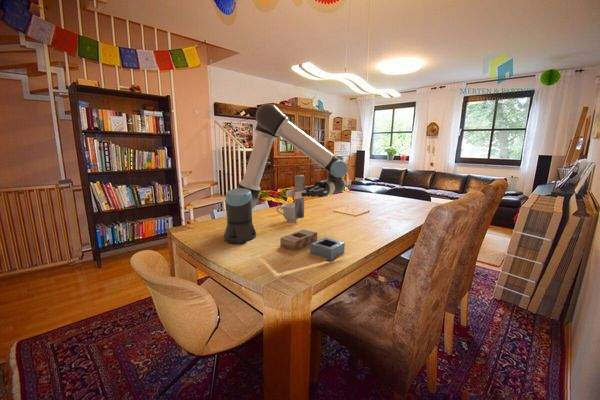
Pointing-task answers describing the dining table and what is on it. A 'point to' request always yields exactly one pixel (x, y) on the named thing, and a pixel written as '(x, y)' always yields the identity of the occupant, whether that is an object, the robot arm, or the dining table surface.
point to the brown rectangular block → (298, 239)
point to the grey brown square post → (300, 201)
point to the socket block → (327, 248)
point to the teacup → (288, 212)
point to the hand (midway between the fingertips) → (291, 194)
